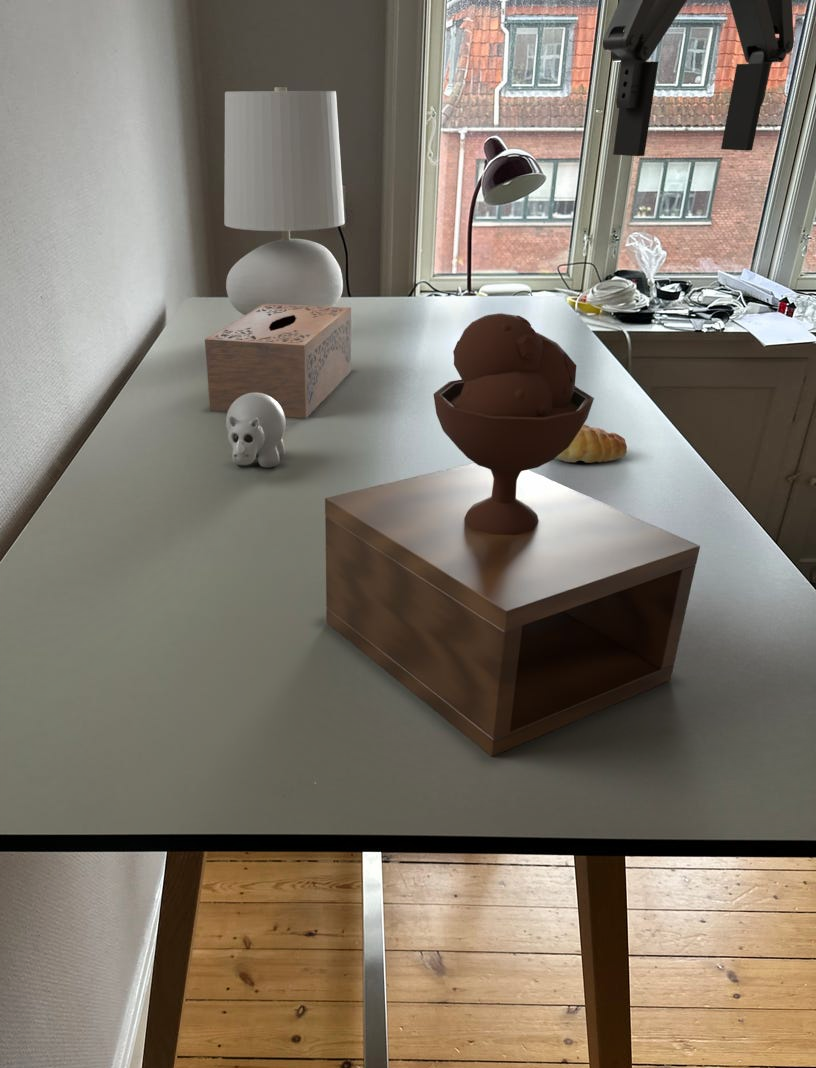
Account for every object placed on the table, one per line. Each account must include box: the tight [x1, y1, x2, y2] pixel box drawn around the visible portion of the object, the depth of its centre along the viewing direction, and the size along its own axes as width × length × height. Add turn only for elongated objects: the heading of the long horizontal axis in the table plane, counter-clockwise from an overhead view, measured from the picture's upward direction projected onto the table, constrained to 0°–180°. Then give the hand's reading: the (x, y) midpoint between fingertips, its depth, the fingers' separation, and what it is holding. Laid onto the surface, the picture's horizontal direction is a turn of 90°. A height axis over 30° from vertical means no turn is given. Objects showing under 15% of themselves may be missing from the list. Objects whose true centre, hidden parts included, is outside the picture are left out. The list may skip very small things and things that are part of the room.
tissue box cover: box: [204, 304, 352, 419], centre depth 138 cm, size 26×14×10 cm, turn 165°
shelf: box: [324, 462, 701, 757], centre depth 72 cm, size 22×18×12 cm
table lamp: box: [223, 86, 346, 316], centre depth 164 cm, size 23×22×40 cm
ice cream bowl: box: [433, 312, 595, 535], centre depth 65 cm, size 11×11×15 cm
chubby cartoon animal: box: [225, 393, 287, 469], centre depth 109 cm, size 7×12×8 cm, turn 169°
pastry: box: [555, 424, 628, 463], centre depth 114 cm, size 9×7×4 cm
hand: (684, 153), depth 79 cm, fingers open, 13 cm apart
